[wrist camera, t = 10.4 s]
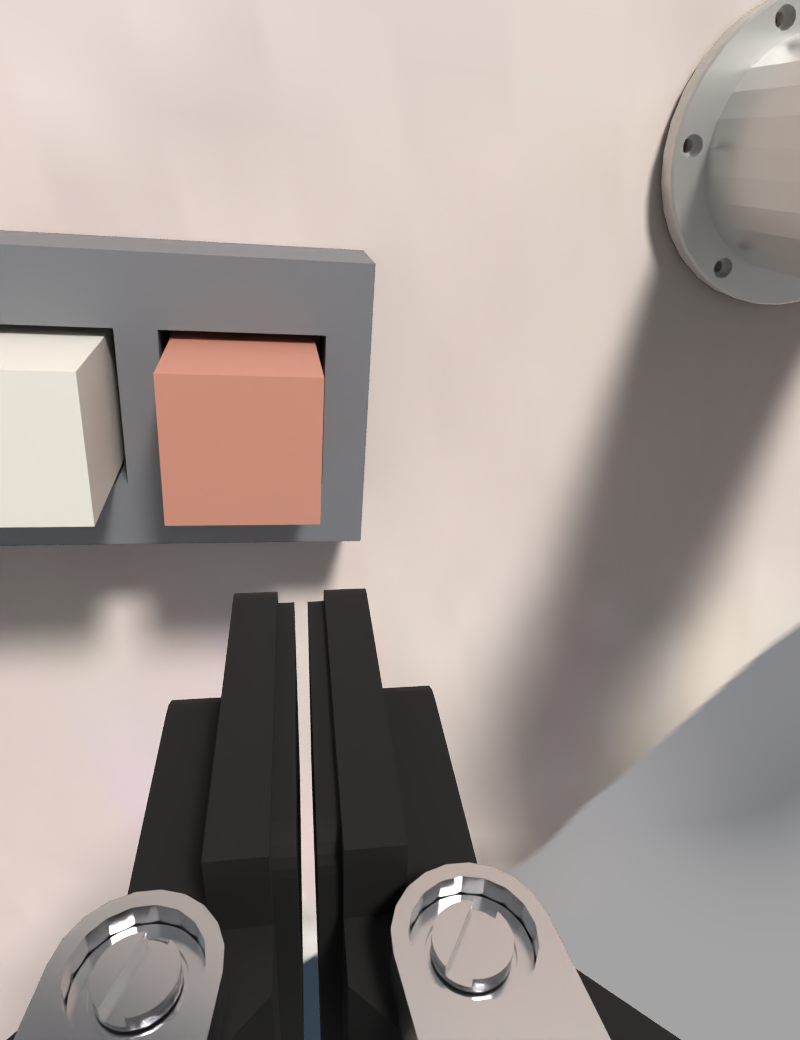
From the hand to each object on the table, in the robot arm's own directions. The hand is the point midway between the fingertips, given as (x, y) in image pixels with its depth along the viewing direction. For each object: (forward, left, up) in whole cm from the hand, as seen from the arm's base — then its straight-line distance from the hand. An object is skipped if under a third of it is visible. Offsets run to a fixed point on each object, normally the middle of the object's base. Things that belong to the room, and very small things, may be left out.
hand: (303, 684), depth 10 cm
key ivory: (+9, +3, -24) cm, 26 cm away
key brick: (+1, +3, -24) cm, 24 cm away
